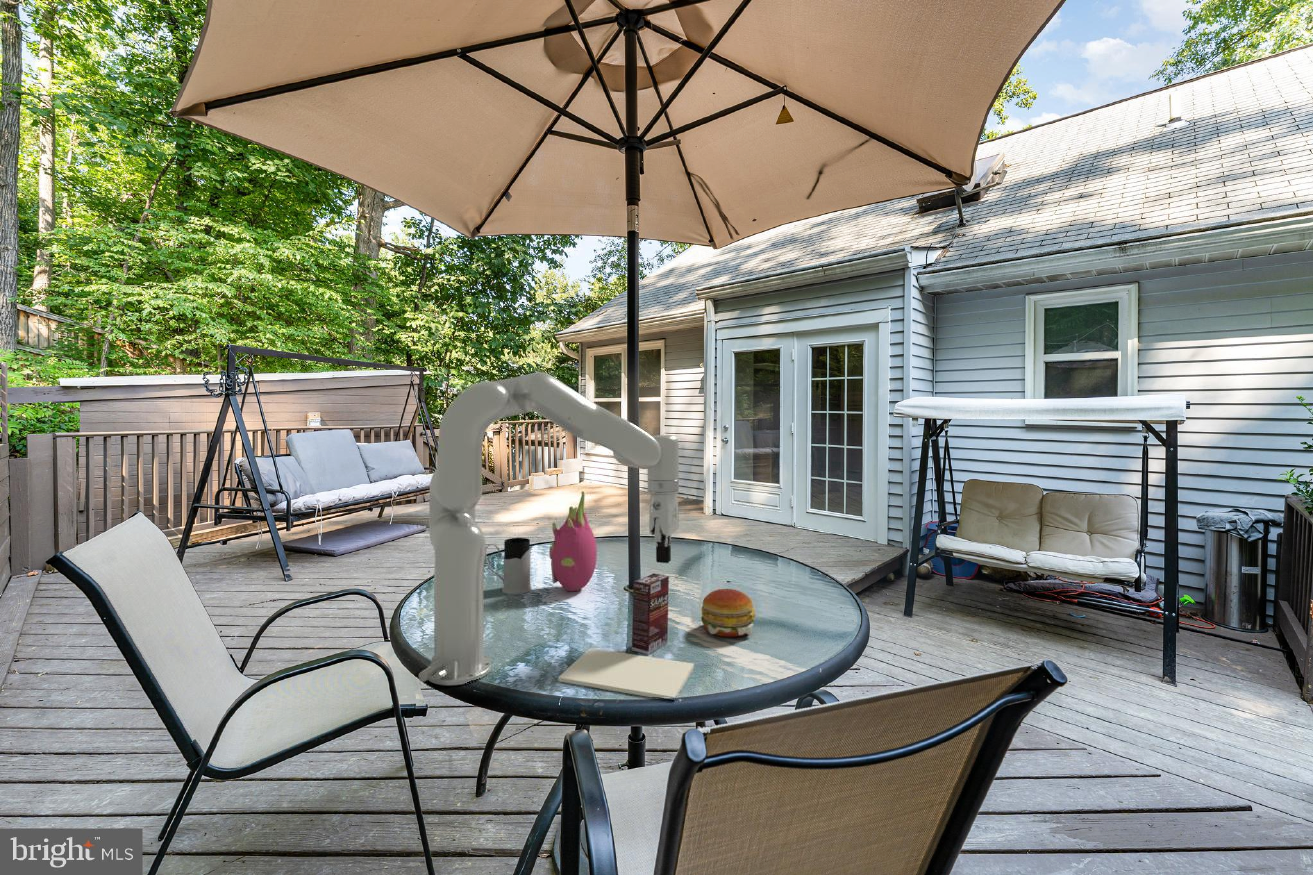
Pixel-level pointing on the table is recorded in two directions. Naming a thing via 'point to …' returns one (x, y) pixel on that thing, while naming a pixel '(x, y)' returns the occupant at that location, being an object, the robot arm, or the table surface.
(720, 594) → the burger
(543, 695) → the table surface
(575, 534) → the pink dragon fruit
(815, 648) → the table surface
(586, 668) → the placemat
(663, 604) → the supplement box
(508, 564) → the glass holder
